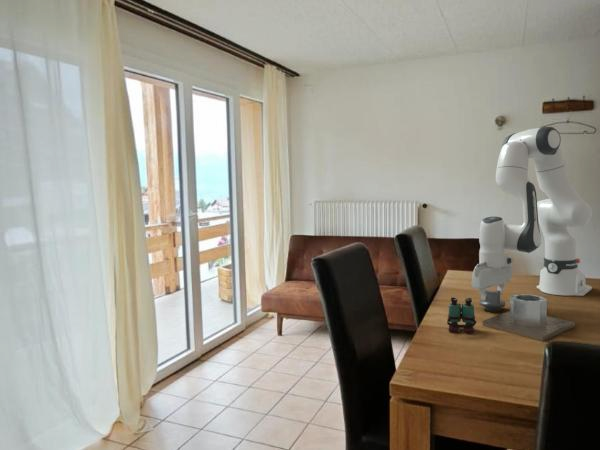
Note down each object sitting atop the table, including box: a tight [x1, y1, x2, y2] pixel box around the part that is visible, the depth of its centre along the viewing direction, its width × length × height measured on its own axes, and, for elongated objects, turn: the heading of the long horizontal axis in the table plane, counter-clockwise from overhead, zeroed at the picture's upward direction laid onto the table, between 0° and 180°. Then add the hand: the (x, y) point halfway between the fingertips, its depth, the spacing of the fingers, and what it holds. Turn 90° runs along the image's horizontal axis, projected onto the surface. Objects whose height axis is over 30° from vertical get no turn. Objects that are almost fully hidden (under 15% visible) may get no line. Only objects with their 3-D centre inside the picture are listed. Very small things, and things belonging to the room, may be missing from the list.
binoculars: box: [446, 297, 477, 335], centre depth 146 cm, size 9×11×10 cm
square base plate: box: [482, 293, 576, 342], centre depth 148 cm, size 20×20×10 cm
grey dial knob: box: [478, 289, 506, 313], centre depth 167 cm, size 9×9×7 cm
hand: (491, 297), depth 167 cm, fingers open, 8 cm apart
